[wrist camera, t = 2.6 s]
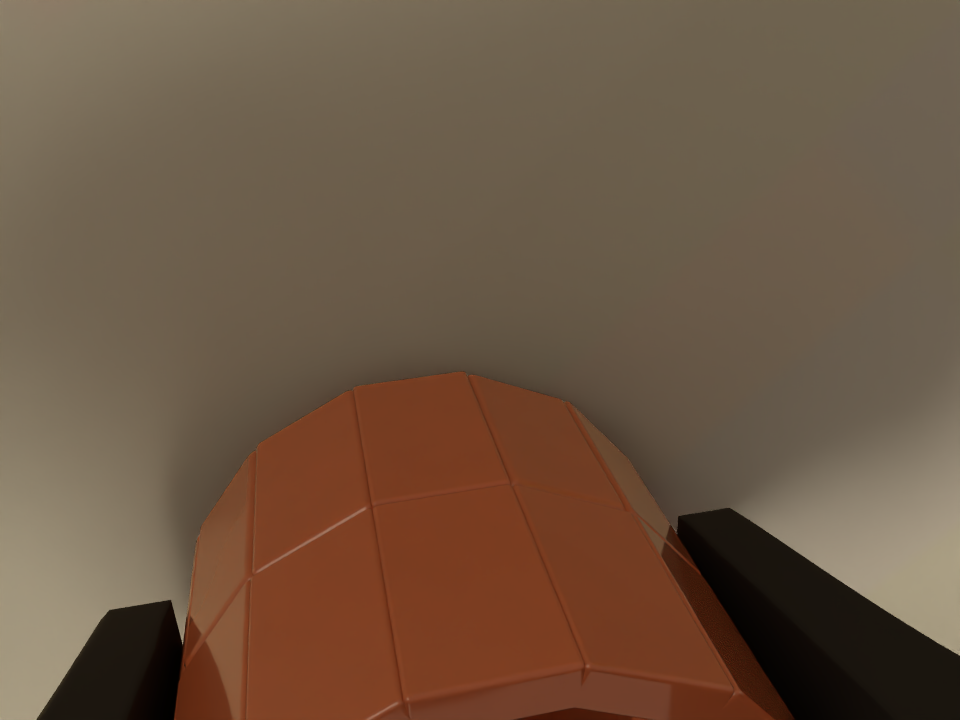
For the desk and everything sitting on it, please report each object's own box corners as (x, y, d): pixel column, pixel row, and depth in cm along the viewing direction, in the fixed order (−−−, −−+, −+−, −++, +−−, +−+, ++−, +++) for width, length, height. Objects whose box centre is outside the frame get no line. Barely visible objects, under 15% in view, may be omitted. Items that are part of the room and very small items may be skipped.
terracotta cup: (418, 766, 13) (487, 1183, 9) (94, 570, 10) (-28, 1020, 6) (709, 528, 12) (944, 865, 8) (430, 255, 10) (551, 530, 5)
